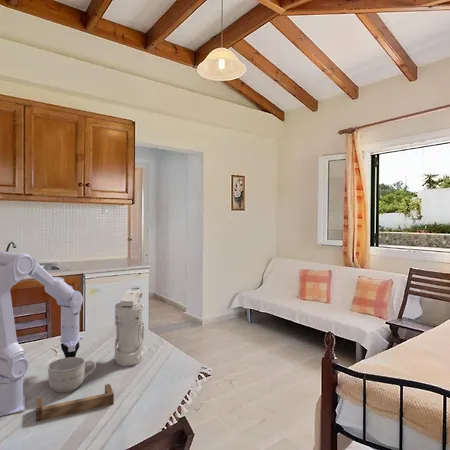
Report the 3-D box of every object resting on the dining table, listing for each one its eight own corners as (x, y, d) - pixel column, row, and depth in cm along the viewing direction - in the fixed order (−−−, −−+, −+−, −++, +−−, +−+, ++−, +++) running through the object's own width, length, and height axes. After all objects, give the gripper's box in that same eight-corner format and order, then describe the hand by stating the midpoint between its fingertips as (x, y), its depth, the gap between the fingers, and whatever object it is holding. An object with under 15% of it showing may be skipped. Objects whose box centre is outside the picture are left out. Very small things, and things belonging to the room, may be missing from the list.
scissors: (81, 344, 145) (62, 365, 125) (81, 345, 145) (62, 368, 126) (54, 344, 145) (31, 366, 125) (54, 346, 145) (31, 368, 125)
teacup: (44, 398, 105) (44, 372, 105) (51, 381, 116) (51, 357, 115) (94, 392, 109) (94, 367, 109) (96, 376, 120) (96, 353, 119)
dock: (36, 422, 94) (35, 411, 94) (36, 409, 100) (36, 398, 100) (113, 404, 103) (113, 394, 103) (109, 393, 109) (109, 383, 109)
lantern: (139, 366, 127) (140, 298, 126) (110, 366, 127) (111, 297, 126) (147, 351, 140) (148, 289, 139) (121, 351, 140) (121, 288, 139)
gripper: (85, 330, 115) (85, 371, 116) (80, 317, 128) (80, 354, 129) (61, 333, 112) (61, 375, 113) (59, 319, 125) (59, 357, 125)
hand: (70, 364), depth 120 cm, fingers closed
